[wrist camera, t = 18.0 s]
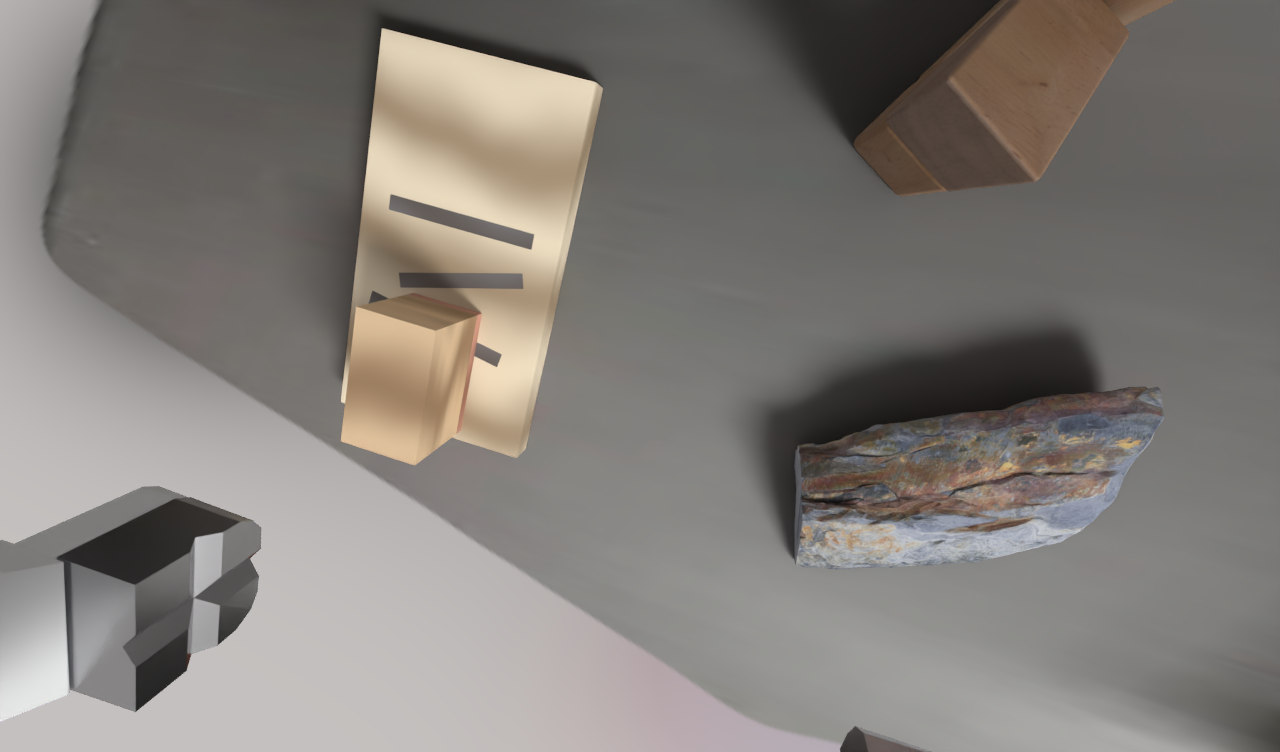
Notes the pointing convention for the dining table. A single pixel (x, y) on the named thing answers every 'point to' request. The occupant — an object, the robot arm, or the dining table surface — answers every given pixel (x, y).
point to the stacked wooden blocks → (999, 96)
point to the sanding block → (408, 375)
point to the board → (475, 209)
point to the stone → (968, 481)
